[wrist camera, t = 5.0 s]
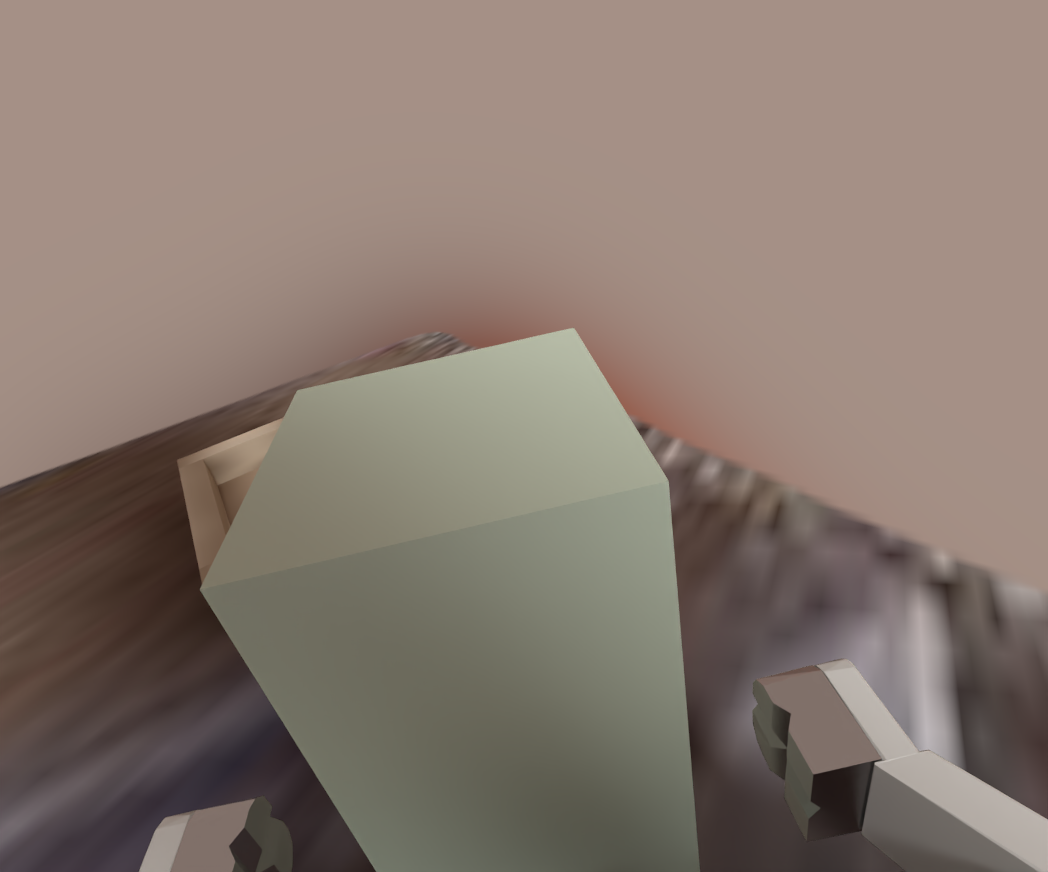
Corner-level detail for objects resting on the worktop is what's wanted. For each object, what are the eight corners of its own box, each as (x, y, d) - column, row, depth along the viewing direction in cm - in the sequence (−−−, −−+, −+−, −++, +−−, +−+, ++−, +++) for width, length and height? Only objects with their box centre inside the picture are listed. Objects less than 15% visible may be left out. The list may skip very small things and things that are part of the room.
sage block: (467, 1017, 12) (199, 589, 6) (459, 777, 16) (297, 389, 11) (706, 958, 12) (667, 480, 6) (636, 735, 17) (573, 327, 11)
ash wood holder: (231, 633, 23) (202, 586, 22) (198, 497, 33) (177, 459, 31) (503, 491, 28) (491, 446, 27) (404, 409, 37) (392, 374, 36)
